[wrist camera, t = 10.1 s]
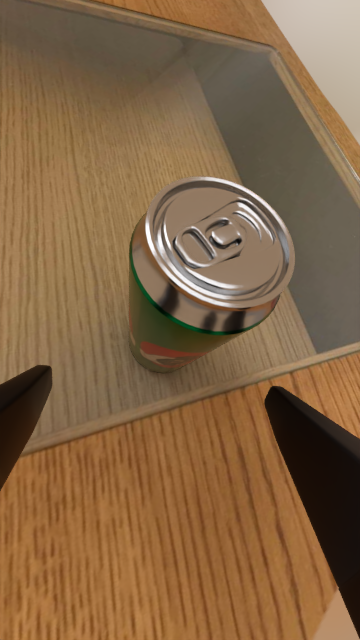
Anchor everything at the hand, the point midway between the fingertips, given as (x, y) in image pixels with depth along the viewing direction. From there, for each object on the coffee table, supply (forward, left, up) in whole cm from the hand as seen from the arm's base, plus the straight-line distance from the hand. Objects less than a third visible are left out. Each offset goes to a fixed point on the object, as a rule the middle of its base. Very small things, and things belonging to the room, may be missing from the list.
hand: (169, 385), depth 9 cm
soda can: (+3, -2, -7) cm, 8 cm away
